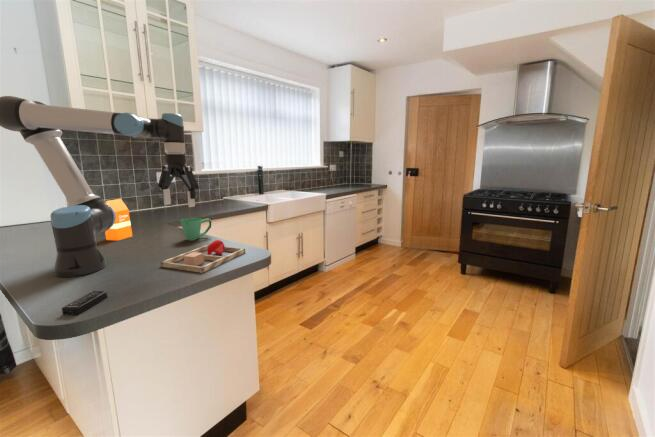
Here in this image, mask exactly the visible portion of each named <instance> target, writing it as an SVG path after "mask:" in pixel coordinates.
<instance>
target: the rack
mask: <svg viewBox="0 0 655 437" xmlns="http://www.w3.org/2000/svg"><path fill="white" fill-rule="evenodd" d="M209 245H210V244H205V245H203V246H201V247H197V248H195V249H192V250H190V251H187V252H184V253H182V254H179V255H176V256H173V257H171V258H170V257H169V258H168V259H166V260H165V259H164V260H163V261H160V267H162V268H168V269H173V270H174V269H175V270H180V271H187V272H188V271H189V272H193V273H194V272H195V273H202V274H203V273H205V272H208V271H209V270H212V269H214V268H216V267H218V266H220V265H222V264H224V263H226V262H229V261H230V260H233V259H235V258H237V257H239V256H241V255H243V254H246V248H245V247H235V246H225V248H224V251H223V252H228V253H229V252H231V253H229V254H227V255H225V256H222V255H212V254H211V255H207V254H204V252H205V251H207V249H208V246H209ZM192 252H197V253H203V255H204V261H212V262H210V263H207V264H204V265H202V266H200V265H198V266H192V265H185V264H184V263H177V262H179V261H181V260H184V257H183V256H185V255H187V254H189V253H192Z"/></svg>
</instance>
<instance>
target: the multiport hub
mask: <svg viewBox="0 0 655 437" xmlns="http://www.w3.org/2000/svg"><path fill="white" fill-rule="evenodd" d="M107 298H108V293H107V291H105V290H101V291H99V290H97V291H96V290H92V291H91V292H89V293H86V294H85V295H83V296H82V297H79V298H78V299H76V300H74V301H73V302H70V303H68V304H67V305H65V306H63V307H61V312H62V316H80V315H82V313H84V312H86V311H87V310H89V309H91V308H93V307H95V306H96V305H97V304H100V303H101V302H102V301H104V300H105V299H107Z"/></svg>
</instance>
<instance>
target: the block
mask: <svg viewBox="0 0 655 437" xmlns="http://www.w3.org/2000/svg"><path fill="white" fill-rule="evenodd" d="M203 254H204V252H200V253H197V252H192V253H189V254H187V255H185V256H183V257H184V259H183V264H185V265H192V266H201V265H202V264H204V263H205V260H204V255H203Z"/></svg>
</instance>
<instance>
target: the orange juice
mask: <svg viewBox="0 0 655 437" xmlns="http://www.w3.org/2000/svg"><path fill="white" fill-rule="evenodd" d="M104 203H105V204H107V205H109V206H111V207H112V208H113V210H114V211H115V214H116V220H115V223H114V225H113V226H112V227H111V228H110V229H108V230H107V231H105V232H104V233H105V239H106V241H121V240H124V239H128V238H131V237H133V230H132V224H131V218H130V211H129V208H128V207H127V205H126V204H125V202H124V201H123V200H122V198H117V199H111V200H106V202H104Z"/></svg>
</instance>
